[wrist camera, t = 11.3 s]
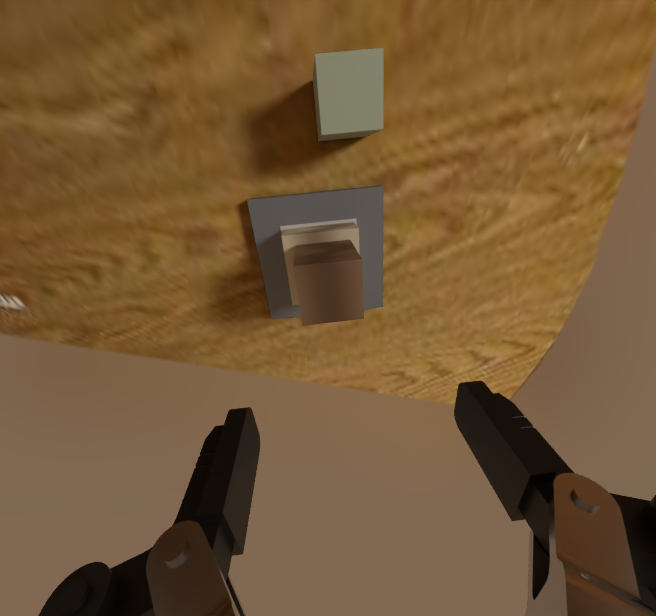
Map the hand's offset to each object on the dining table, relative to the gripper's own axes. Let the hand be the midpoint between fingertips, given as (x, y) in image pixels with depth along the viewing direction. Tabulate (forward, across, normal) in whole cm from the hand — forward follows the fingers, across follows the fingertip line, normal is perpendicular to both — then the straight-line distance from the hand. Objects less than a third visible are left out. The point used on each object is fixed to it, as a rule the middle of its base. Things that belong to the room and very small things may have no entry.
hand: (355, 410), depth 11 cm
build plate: (+22, 0, 0) cm, 22 cm away
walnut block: (+18, 0, 0) cm, 18 cm away
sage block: (+22, -3, -13) cm, 25 cm away
